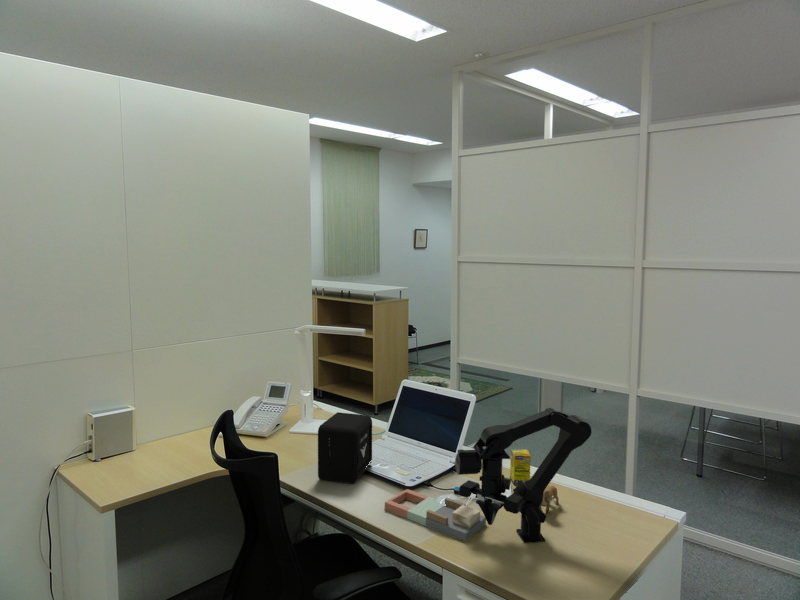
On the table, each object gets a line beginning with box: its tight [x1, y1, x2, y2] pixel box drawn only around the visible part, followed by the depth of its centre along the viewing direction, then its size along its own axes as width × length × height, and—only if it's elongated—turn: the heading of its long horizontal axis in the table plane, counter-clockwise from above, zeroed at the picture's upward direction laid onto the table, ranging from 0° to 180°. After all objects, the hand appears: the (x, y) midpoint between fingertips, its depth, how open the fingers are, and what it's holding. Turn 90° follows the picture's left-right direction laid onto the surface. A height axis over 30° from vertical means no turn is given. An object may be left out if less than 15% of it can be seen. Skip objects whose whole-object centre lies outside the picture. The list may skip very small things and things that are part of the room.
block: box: [452, 505, 481, 529], centre depth 158 cm, size 6×6×3 cm
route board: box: [384, 488, 487, 543], centre depth 165 cm, size 30×12×4 cm, turn 53°
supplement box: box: [509, 449, 532, 485], centre depth 191 cm, size 6×6×11 cm
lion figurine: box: [540, 485, 560, 516], centre depth 171 cm, size 15×5×9 cm, turn 152°
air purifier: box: [317, 411, 373, 484], centre depth 196 cm, size 20×15×20 cm
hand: (490, 524), depth 153 cm, fingers closed
